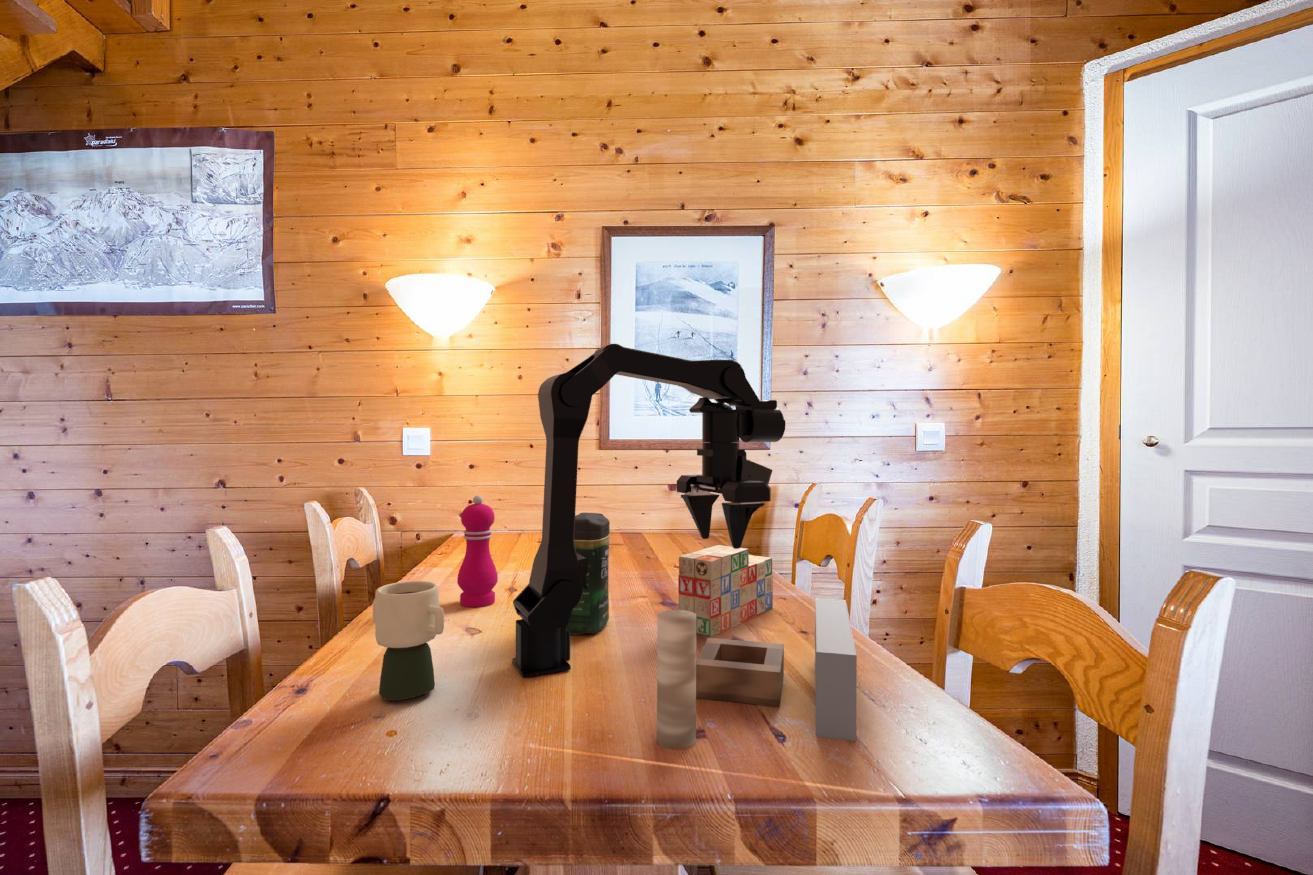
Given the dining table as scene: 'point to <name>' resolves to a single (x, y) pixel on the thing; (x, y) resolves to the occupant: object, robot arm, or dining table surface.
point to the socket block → (740, 672)
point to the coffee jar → (592, 573)
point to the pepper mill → (477, 556)
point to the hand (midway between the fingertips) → (720, 543)
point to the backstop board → (834, 671)
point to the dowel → (676, 679)
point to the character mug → (407, 636)
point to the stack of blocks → (724, 587)
